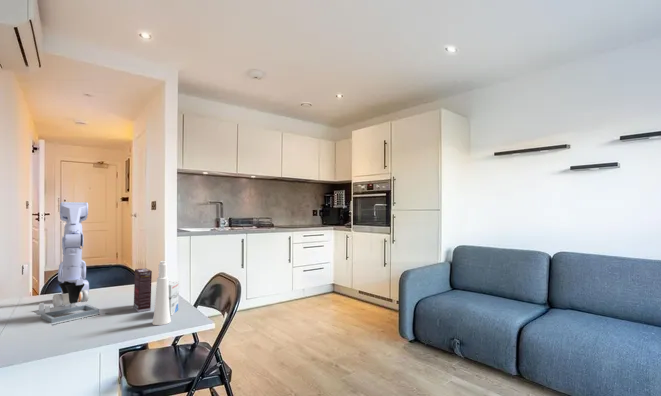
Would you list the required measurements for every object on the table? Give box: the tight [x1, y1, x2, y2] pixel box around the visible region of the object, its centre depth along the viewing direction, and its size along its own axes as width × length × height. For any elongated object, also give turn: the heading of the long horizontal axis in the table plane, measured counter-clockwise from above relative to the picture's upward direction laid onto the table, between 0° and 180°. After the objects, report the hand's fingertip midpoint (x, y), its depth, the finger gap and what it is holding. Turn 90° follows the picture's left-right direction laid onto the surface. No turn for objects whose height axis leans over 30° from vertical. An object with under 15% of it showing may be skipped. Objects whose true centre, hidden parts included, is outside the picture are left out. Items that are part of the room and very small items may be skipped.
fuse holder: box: [32, 302, 78, 316], centre depth 138 cm, size 13×10×4 cm
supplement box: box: [133, 267, 153, 313], centre depth 142 cm, size 9×5×16 cm, turn 41°
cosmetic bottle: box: [151, 260, 172, 326], centre depth 125 cm, size 6×6×22 cm
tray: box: [40, 304, 100, 326], centre depth 131 cm, size 15×11×2 cm
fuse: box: [51, 290, 90, 307], centre depth 131 cm, size 10×5×5 cm, turn 146°
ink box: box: [168, 280, 180, 317], centre depth 137 cm, size 8×5×12 cm, turn 5°
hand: (71, 302), depth 131 cm, fingers closed on fuse, 4 cm apart
